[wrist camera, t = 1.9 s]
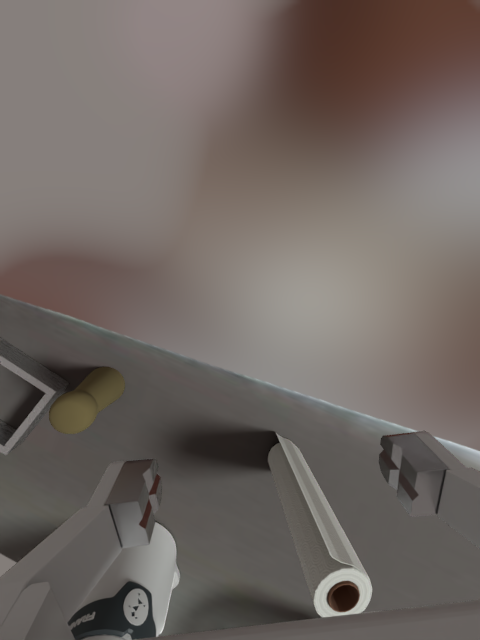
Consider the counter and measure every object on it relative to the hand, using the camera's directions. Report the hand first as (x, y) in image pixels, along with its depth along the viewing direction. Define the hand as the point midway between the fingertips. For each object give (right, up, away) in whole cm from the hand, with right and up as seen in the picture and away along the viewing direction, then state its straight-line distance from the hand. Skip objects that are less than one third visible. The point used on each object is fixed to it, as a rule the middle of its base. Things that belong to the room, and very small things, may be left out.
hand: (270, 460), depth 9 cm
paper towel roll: (+7, -19, +37) cm, 42 cm away
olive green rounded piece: (-23, -5, +32) cm, 40 cm away
